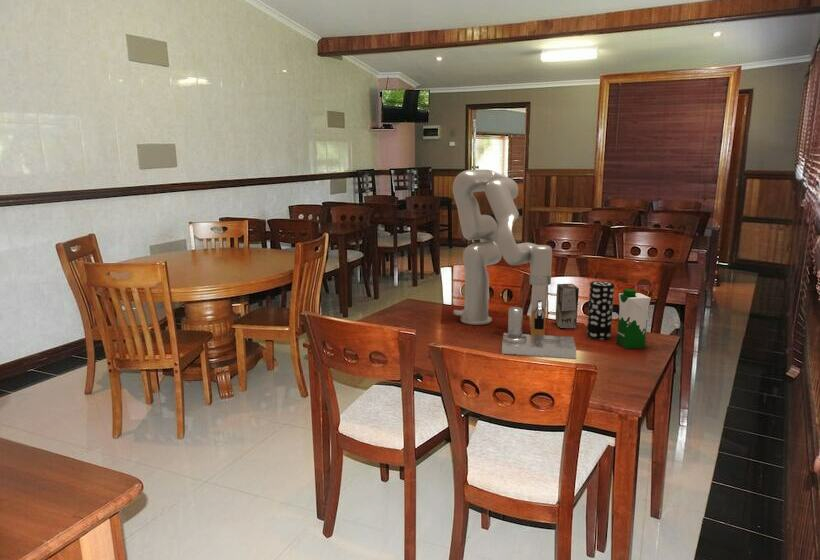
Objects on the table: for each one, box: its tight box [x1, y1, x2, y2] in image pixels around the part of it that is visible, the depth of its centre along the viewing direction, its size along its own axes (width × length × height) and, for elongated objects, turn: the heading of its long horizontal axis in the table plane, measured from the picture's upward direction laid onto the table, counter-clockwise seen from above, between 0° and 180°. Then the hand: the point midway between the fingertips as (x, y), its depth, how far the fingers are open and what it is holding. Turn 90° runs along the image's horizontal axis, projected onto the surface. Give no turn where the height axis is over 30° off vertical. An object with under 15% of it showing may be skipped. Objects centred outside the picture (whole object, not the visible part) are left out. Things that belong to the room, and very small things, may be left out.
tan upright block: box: [530, 308, 547, 335], centre depth 209 cm, size 5×4×10 cm
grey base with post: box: [501, 306, 577, 359], centre depth 195 cm, size 24×14×14 cm, turn 78°
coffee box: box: [554, 283, 580, 329], centre depth 222 cm, size 9×6×16 cm
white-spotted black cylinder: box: [586, 280, 615, 341], centre depth 208 cm, size 8×8×20 cm
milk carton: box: [615, 288, 652, 350], centre depth 198 cm, size 9×9×20 cm
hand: (538, 325), depth 209 cm, fingers open, 9 cm apart
